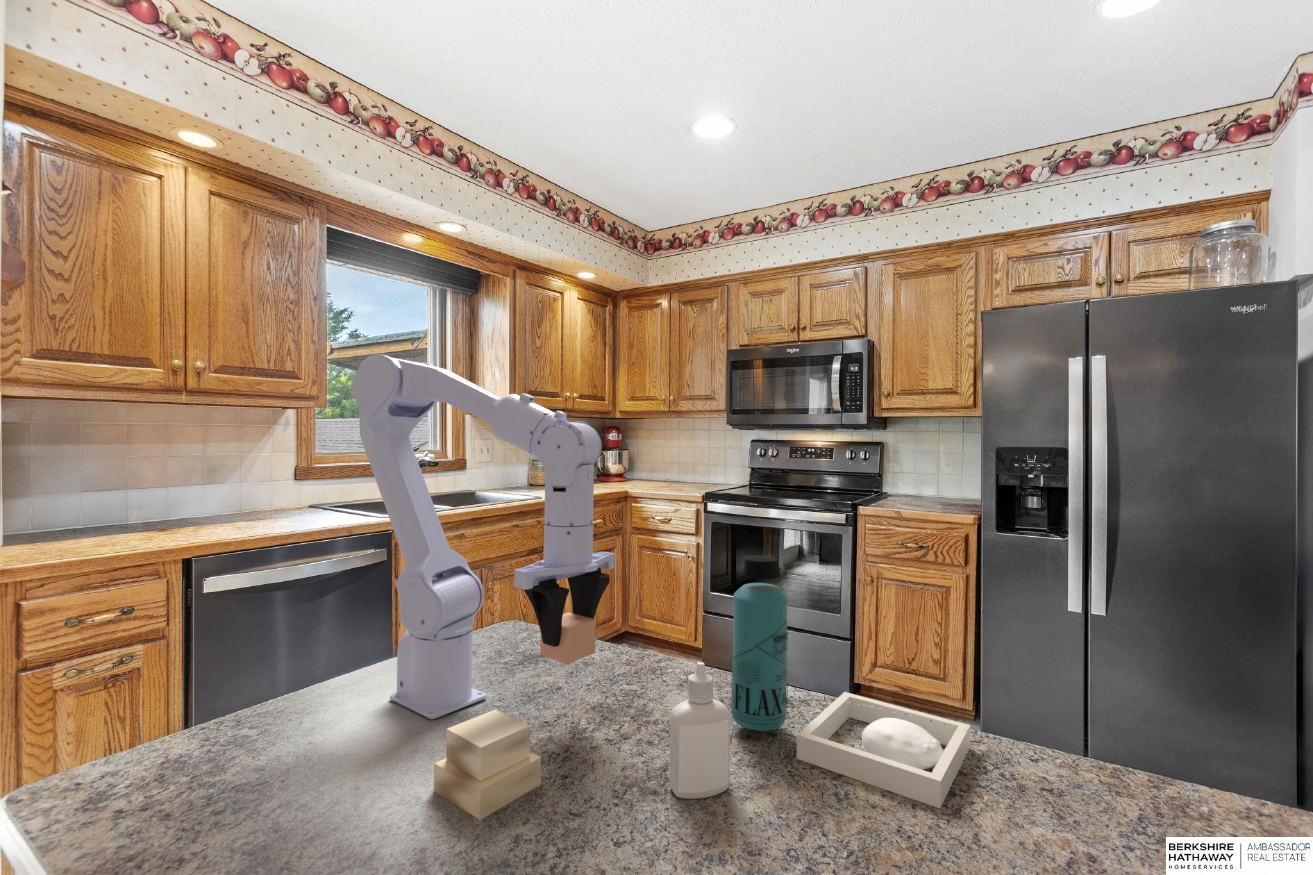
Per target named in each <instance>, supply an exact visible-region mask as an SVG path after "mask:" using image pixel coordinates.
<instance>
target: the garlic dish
mask: <svg viewBox="0 0 1313 875" xmlns="http://www.w3.org/2000/svg"><path fill="white" fill-rule="evenodd" d="M845 701H847V702H851V703H856V704H851V703H850V704H849V703H846V702H845ZM857 704H862V705H857ZM863 705H868V706H863ZM869 706H874V707H875V708H874V707H869ZM879 708H881V709H879ZM894 712H897V713H894ZM905 714H907V715H905ZM909 715H913V716H909ZM918 717H920V718H918ZM881 718H897V719H901V720H905V721H908V722H911V723H913V724H916V725H918V726H920V727H922V728H923V729H924V730H926V731H927V732H928V733H929V734H930V735H931V736H933V737H934V738H935V739H937V740H938V741H939V743H940V745H944V746H945V749H944V750H943V754H942V755H941V757H940V759H939V760H938V762H937V764H936V765H935V766H933V770H932V771H931V772H930V771H927V770H925V769H924V770H921V769H918V768H915V767H912V766H909V765H905V764H902V763H899V762H896V761H893V760H890V759H887V758H883V757H880V756H877V755H874V754H871V753H868V752H865V751H863V750H861V749H857V748H855V747H851V746H848V745H845V744H842V743H839V742H835V741H833V740H829V739H830V737H832V736H833V735H834V734H835V732H837V731H838V729H839V728H841V726H843V724H844V723H845V722H846V721H848V720H849V719H854V720H858V721H861V722H864V723H868V724H871V723H872V722H874V721H876V720H879V719H881ZM925 719H926V720H925ZM929 720H932V721H933V722H930V721H929ZM937 723H940V724H937ZM941 724H945V725H941ZM946 725H947V726H946ZM949 726H954V727H949ZM964 729H965V730H964ZM966 730H968V731H966ZM970 749H971V725H970V724H968V723H964V722H961V721H957V720H952V719H949V718H946V717H945V718H944V717H941V716H938V715H933V714H929V713H927V712H923V711H922V712H921V711H918V710H914V709H911V708H907V707H903V706H900V705H896V704H892V703H888V702H884V701H881V700H876V699H873V698H869V697H865V696H862V695H858V694H853V693H850V692H847V691H843V693H841V694H840V695H839V696H838V697H837V698H836V699H834V701H833V702H832V703H830V704H829V705H828V706H827V707H826V708H825V709H824V710H823V711H822V712H821V713H819V714H818V715H817V716H816V717H815V718H814V719H813V720H811V721H810V723H808V724H807V725H806V726H804V728H803V729H801V730H800V731H799V732H798V733H797V734H796V760H800V761H802V762H805V763H808V764H811V765H814V766H817V767H819V768H823V769H825V770H827V771H831V772H834V773H837V774H839V775H842V776H845V777H848V778H850V779H851V778H852V779H853V780H857V781H859V782H862V783H866V784H868V785H871V786H875V787H877V788H880V789H883V790H886V791H888V792H892V793H894V794H897V795H899V796H903V797H906V798H909V799H910V800H911V799H912V800H914V801H917V802H920V803H923V804H926V805H929V806H931V807H934V808H938V809H941V807H942V806H943V804H944V801H945V800H946V798H947V795H948V794H949V791H950V790H951V788H950V787H952V786H953V784H952V783H954V782H955V780H956V777H957V775H958V773H959V771H960V769H961V768H962V765H963V763H964V761H965V759H964V758H966V757H967V755H968V753H969V751H970ZM966 754H967V755H966ZM965 756H966V757H965ZM963 760H964V761H963ZM958 770H959V771H958ZM954 779H955V780H954ZM953 781H954V782H953Z"/></svg>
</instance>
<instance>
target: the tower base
mask: <svg viewBox="0 0 1313 875" xmlns="http://www.w3.org/2000/svg"><path fill="white" fill-rule="evenodd" d="M433 764H434V766H433V767H434V768H433V773H434V774H433V792H434V793H436V794H437V795H439V796H440V797H443V799H445V800H447V801H449V802H451V803H452V804H453V805H455V806H457V807H459V808H460V809H462V810H463V811H465V812H466V813H468V814H469V815H471V816H473V817H475V818H476V819H478V820H479V821H481V820H482V819H484V818H486V817H488V816H489V815H491V814H493V813H495V812H496V811H498V810H499V809H501V808H503V807H505V806H507V805H508V804H510V803H512V802H514V801H515V800H516V799H519V798H520V797H522V796H523V795H525V794H527V793H528V792H531V791H532V790H534V789H536V788H537V787H539V786H541V783H542V757H541V756H539V755H537V754H535V753H533V752H531V751H530V757H529V758H527V759H525V760H523V761H521V762H519V763H517V764H515V765H513V766H511V767H508V768H506V769H504V770H502V771H500V772H498V773H496V774H494V775H492V776H490V777H488V778H486V779H484V780H482V781H479V780H478V779H476V778H474V777H473V776H471V775H469V774H468V773H466V772H465V771H463V770H461V769H460V768H458V767H456V766H455V765H453V764H451V763H450V762H448V761H446V757H445V758H443V759H441V760H439V761H437V762H434V763H433Z"/></svg>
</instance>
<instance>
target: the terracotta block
mask: <svg viewBox="0 0 1313 875" xmlns="http://www.w3.org/2000/svg"><path fill="white" fill-rule="evenodd" d="M539 648H540V656H542V657H546V658H549V659H551V660H555V661H557V662H561V663H564V664H566V665H569V664H571V663H574V662H576V661H578V660H581V659H584V658H586V657H589V656H591V655H593V654H596V619H595V618H594V619H592V618H588V617H584V616H581V615H577V614H573V612H564V613H563V616H562V631H561V639H560V644H559V646H556V647H553V646H550V645H547V644H544V643H543V640H542V635H541V634H540V647H539Z"/></svg>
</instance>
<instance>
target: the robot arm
mask: <svg viewBox="0 0 1313 875" xmlns="http://www.w3.org/2000/svg"><path fill="white" fill-rule="evenodd" d="M350 388H351V391H352V394H353V396H354V399H355V402H356V406H357V407H358V410H359V412H358V414H359V415H358V416H359V436H360V439H361V443H362V446H363V448H364V452H365V454H366V457H367V460H368V463H369V465H370V468H371V470H372V473H373V476H374V480H375V481H376V485H377V488H378V490H379V493H380V496H381V499H382V501H383V505H384V506H385V510H386V512H387V515H388V517H389V521H390V523H391V526H392V530H393V531H394V536H395V538H396V541H397V543H398V546H399V548H400V551H401V554H402V558H403V560H404V563H405V565H404V567H403V569H402V571H401V573H400V574H399V576H398V578H397V580H396V581H395V582H396V583H395V588H396V591H397V593H398V616H399V618H400V622H401V624H402V626H403V627H404V629H406V630H405V631H404V633H403V634H402V636H401V637H400V640H399V642H398V645H397V650H396V652H397V653H396V655H397V656H396V692H395V693H392V694H390V695H389V699H390V700H391V701H393V702H394V703H395V702H396V703H397V704H399V705H401V706H403V707H406V708H407V709H409V710H411V711H413V712H415V713H417V714H420V715H421V716H423V717H425V718H427V719H430V720H435V719H438V718H440V717H443V716H445V715H448V714H450V713H452V712H455V711H458V710H460V709H463V708H465V707H467V706H470V705H473V704H475V703H478V702H480V701H483V700H485V699H487V693H485V692H483V691H481V690H478V689H476V688H473V636H474V634H473V632H474V631H473V626H474V624H475V620H476V619H475V615H476V614H478V612H479V611H480V610H481V608H482V607H483V604H484V601H485V591H484V586H483V584H482V581H481V580H480V578H479V577H478V576H477V575H476V574H475V573H474V572H473V571H472V569H471V568H470V566H469V564H468V561H467V559H466V558H465V557H464V556H462V555H461V554H460V553H458V552H457V551H455V550H453V549H452V548H451V547H450V545H449V543H448V539H447V538H446V535H445V532H444V529H443V526H442V524H441V521H440V518H439V516H438V513H437V511H436V508H435V505H434V501H433V499H432V496H431V494H430V492H429V488H428V485H427V483H426V479H425V477H424V475H423V472H422V469H421V467H420V464H419V462H418V459H417V456H416V453H415V450H414V448H413V445H412V443H411V439H410V437H411V433H412V432H413V430H414V429H415V428H416V427H417V426H418V425H419V423H421V421H422V420H423V419H424V418H425V417H426V416H427V414H428V413H429V412H430V411H431V410H432V408H433V407H434V406H435V405H436V404H437V403H445V404H448V405H450V406H452V407H455V408H457V409H459V410H461V411H464V412H466V413H468V414H471V415H473V416H475V417H477V418H479V419H482V420H484V421H486V422H488V423H489V427H490V430H491V433H492V434H493V436H495V437H496V438H499V439H500V440H502V441H504V442H507V443H508V444H510V445H511V446H514V447H516V448H518V449H520V450H522V451H524V452H526V453H529V454H530V455H532V456H534V457H536V458H537V459H538V461H539V462H540V464H541V465H542V467H543V470H544V481H545V482H544V525H543V528H544V531H543V533H544V534H543V559H542V560H539V561H537V562H534V563H532V564H529V565H526V566H524V567H520V568H515V569H514V576H513V577H514V579H513V580H514V581H513V582H514V584H513V585H514V586H513V587H515V588H517V589H522V590H523V591H524V593H525V595H526V597H527V598H528V600H529V602H530V604H531V607H532V608H533V610H534V613H535V616H536V620H537V623H538V626H539V629H540V630H539V631H540V636H541V635H542V640H543V643H544V644H547V645H550V646H553V647H556V646H559V644H560V639H561V631H562V616H563V614H564V610H565V607H566V602H567V599H568V596H569V593H570V597H571V606H572V612H571V613H573V614H577V615H581V616H584V617H588V618H592V619H595V616H596V613H597V610H598V607H599V604H600V601H601V598H602V597H603V595H604V592H605V590H606V589H607V587H608V586H609V584H610V578H611V575H610V574H608V573H604V572H602V570H613V569H615V561H616V560H615V556H616V555H615V554H616V553H614V552H609V551H598V552H593V550H594V548H593V545H594V501H595V500H594V499H595V498H594V492H595V490H594V489H595V486H594V481H595V480H594V479H595V478H594V476H595V475H594V474H595V473H594V472H595V470H594V468H595V464H596V462H597V461H598V460H599V458H600V455H601V453H602V448H603V447H602V440H601V437H600V435H599V433H598V432H597V430H596V429H595V428H594V427H592V426H590V425H589V424H588V423H587V422H586V421H579V420H577V421H572V422H569V421H568V419H567V416H568V414H567V413H566V412H564V411H562V410H556V411H552V410H550V409H548V408H546V407H544V406H542V405H539V404H538V403H535V400H536V398H535V397H534V396H533V395H531V394H528V393H524V392H523V393H520V395H518V394H516V393H512V394H511V393H510V394H508V395H507V396H504V397H499V395H498V396H497V395H496V394H494V393H492V392H490V391H488V390H486V389H484V388H483V387H480V386H479V385H477V384H475V383H473V382H471V381H469V380H467V379H465V378H464V377H462V376H460V375H459V374H457V373H455V372H453V371H451V370H448V369H446V368H443V367H439V366H435V365H433V364H432V363H430V362H429V363H428V362H424V361H423V362H422V361H421V362H417V361H412V360H408V359H407V360H406V359H402V358H401V359H400V358H395V357H391V356H388V355H385V354H382V353H381V354H380V353H374V354H372V355H368V356H367V357H366V358H364V360H362V362H361V364H360V365H359V367H358V369H357V370H356V373H355V375H354V378H353V379H352V381H351V384H350ZM433 578H435V579H433ZM565 579H566V580H567V583H568V586H569V588H568V587H567V588H566V587H562V586H560V583H557V582H558V581H560V580H565Z"/></svg>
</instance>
